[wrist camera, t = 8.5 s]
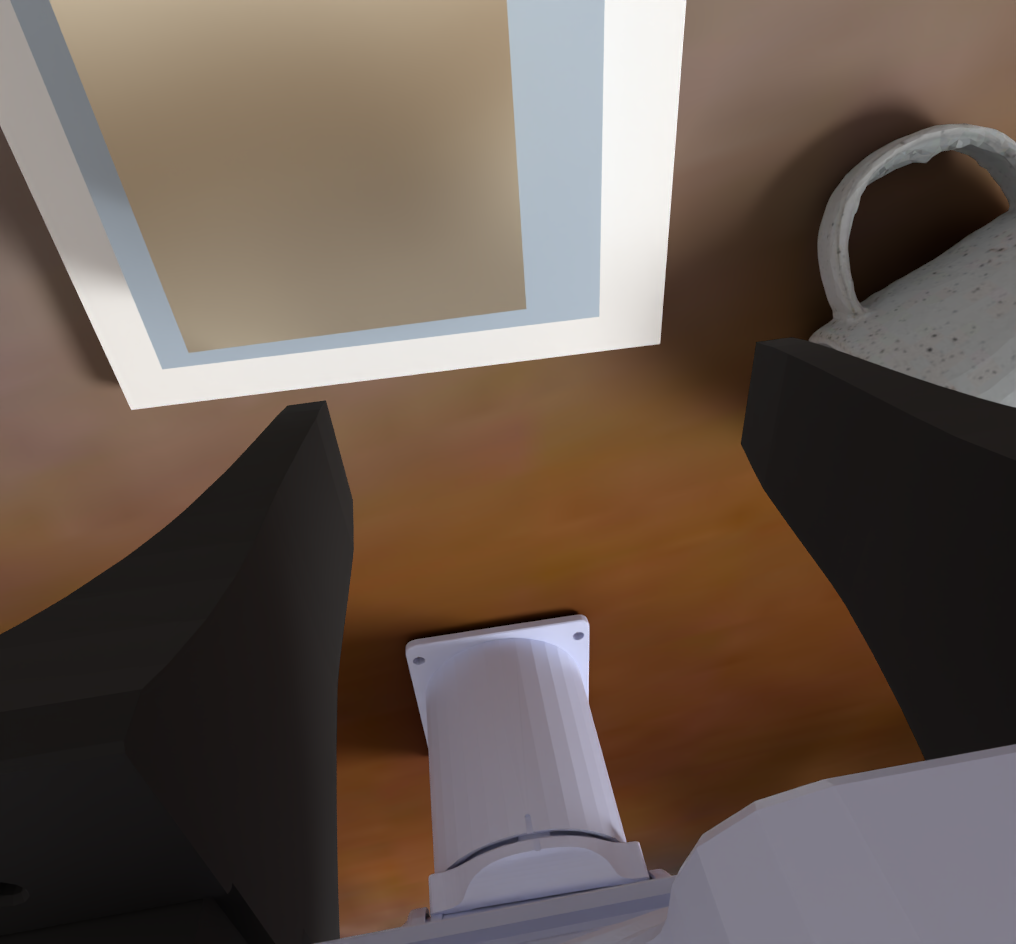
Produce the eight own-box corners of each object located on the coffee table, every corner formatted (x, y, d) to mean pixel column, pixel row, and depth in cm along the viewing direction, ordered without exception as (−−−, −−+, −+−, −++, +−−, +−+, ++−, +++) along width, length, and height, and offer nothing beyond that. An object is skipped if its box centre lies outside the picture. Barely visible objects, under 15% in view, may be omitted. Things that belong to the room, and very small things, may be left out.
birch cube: (487, 215, 14) (526, 308, 10) (245, 244, 14) (188, 352, 10) (459, -94, 11) (497, -133, 7) (150, -67, 11) (13, -91, 7)
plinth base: (648, 327, 22) (708, 409, 18) (143, 389, 21) (82, 492, 17) (699, -472, 13) (852, -693, 8) (-223, -442, 11) (-576, -683, 7)
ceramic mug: (1062, 319, 24) (1290, 432, 18) (850, 448, 26) (989, 588, 20) (994, 42, 19) (1290, 66, 13) (734, 234, 21) (876, 335, 15)
